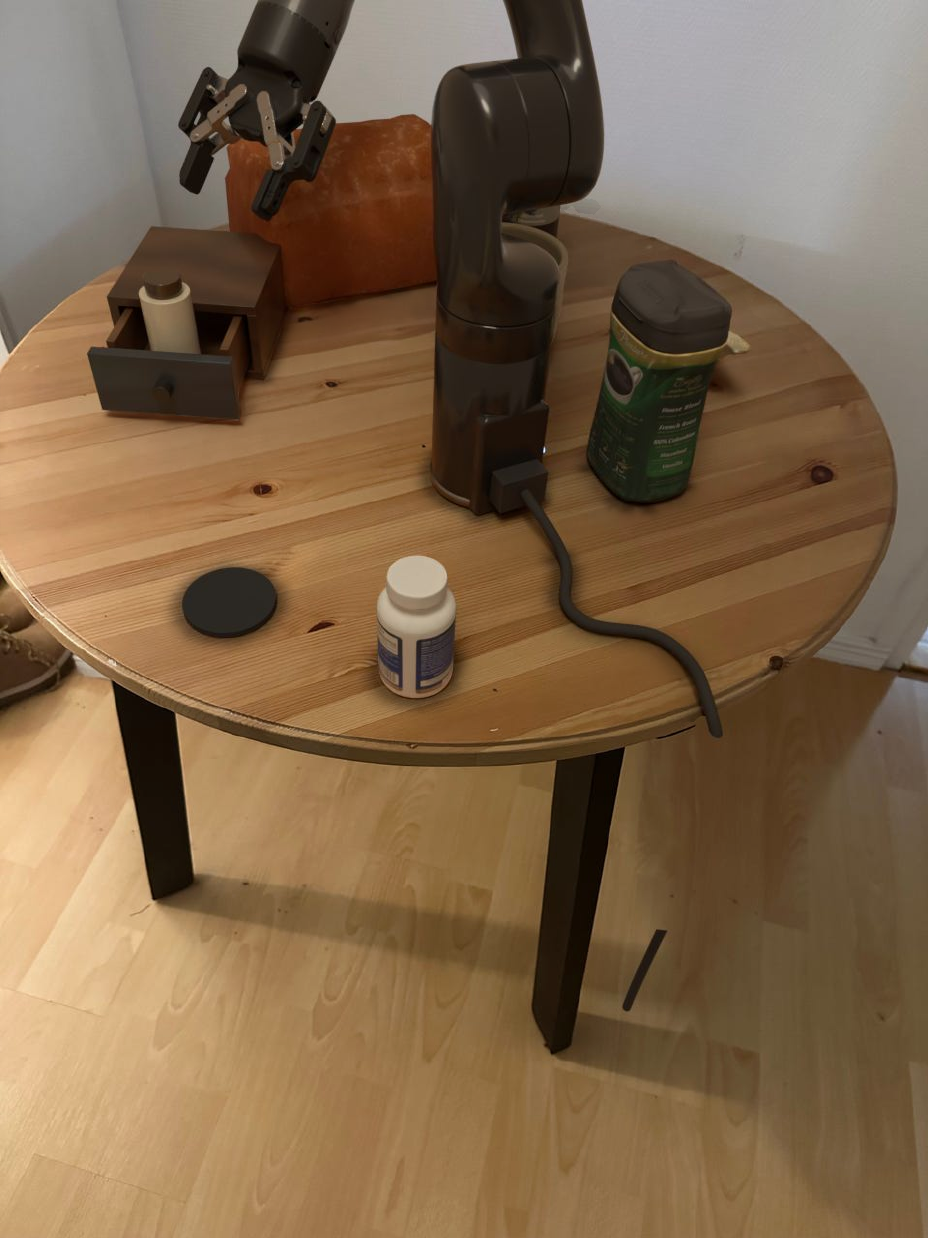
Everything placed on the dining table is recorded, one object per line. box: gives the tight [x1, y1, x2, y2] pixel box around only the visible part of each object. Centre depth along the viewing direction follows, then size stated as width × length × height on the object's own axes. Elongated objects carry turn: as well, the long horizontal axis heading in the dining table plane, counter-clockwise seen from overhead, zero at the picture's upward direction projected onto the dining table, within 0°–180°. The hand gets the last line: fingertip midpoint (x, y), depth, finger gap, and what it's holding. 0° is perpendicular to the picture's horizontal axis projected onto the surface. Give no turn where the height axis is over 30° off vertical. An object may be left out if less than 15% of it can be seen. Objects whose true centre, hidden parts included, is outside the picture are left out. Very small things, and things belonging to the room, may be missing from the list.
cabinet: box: [106, 225, 290, 381], centre depth 96 cm, size 15×14×8 cm
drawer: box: [86, 306, 252, 421], centre depth 89 cm, size 15×13×6 cm
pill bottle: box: [375, 555, 457, 699], centre depth 65 cm, size 5×5×10 cm
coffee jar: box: [586, 259, 733, 503], centre depth 80 cm, size 10×8×19 cm
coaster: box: [181, 566, 278, 639], centre depth 72 cm, size 7×7×1 cm
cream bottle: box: [139, 268, 201, 354], centre depth 86 cm, size 4×4×10 cm
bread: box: [224, 113, 437, 309], centre depth 105 cm, size 17×24×15 cm
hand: (223, 202), depth 85 cm, fingers open, 8 cm apart
